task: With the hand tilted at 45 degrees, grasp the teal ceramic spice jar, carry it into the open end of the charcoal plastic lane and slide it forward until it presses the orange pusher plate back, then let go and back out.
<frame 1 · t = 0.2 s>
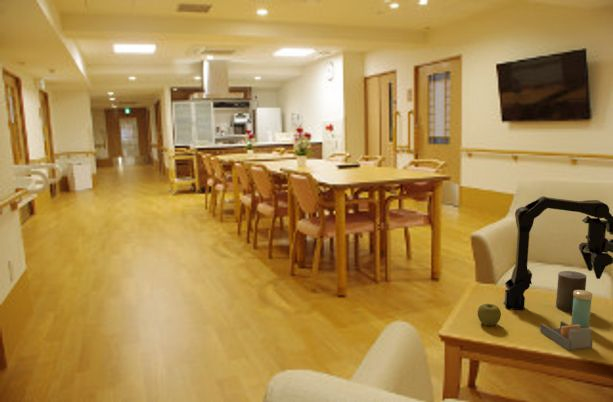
hand: (594, 274, 184), 15 cm above the table, tool pointing down, fingers open, 9 cm apart
lane: (565, 339, 165), on the table
pusher: (570, 332, 162), point 3 cm above the table, slide at 0.0 cm
apple: (488, 324, 178), on the table
pillar candle: (569, 308, 191), on the table
jar: (579, 327, 174), on the table
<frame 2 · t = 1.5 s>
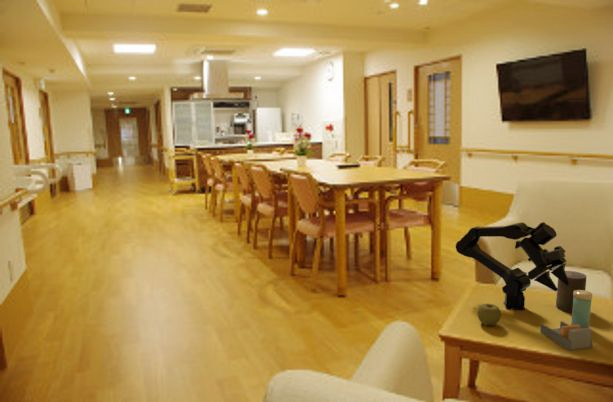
hand: (562, 287, 177), 13 cm above the table, tool tilted 45°, fingers open, 9 cm apart
nothing on the table moved.
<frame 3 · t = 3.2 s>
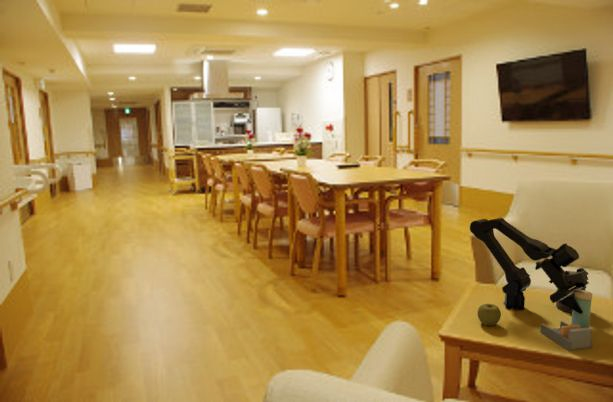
hand: (585, 311, 171), 7 cm above the table, tool tilted 45°, fingers closed on jar, 5 cm apart
jar: (580, 327, 174), on the table, touching gripper
everything else where it was.
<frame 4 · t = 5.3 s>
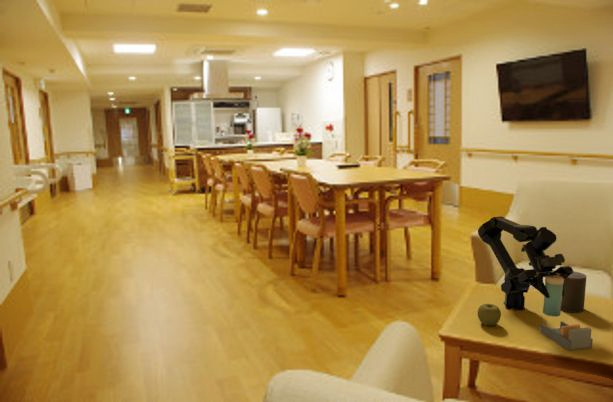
hand: (555, 296, 168), 13 cm above the table, tool tilted 45°, fingers closed on jar, 5 cm apart
jar: (551, 313, 171), point 6 cm above the table, touching gripper
everything else where it was.
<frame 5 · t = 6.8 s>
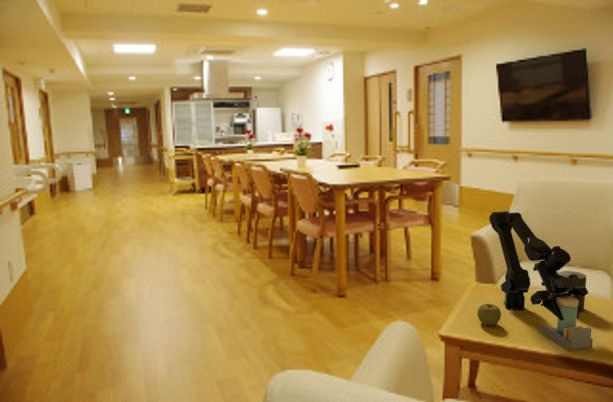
hand: (570, 319, 162), 8 cm above the table, tool tilted 45°, fingers closed on jar, 5 cm apart
pusher: (573, 334, 161), point 3 cm above the table, slide at 1.4 cm
jar: (565, 335, 165), point 1 cm above the table, touching gripper
everything else where it was.
when the fingers open (8 cm above the table, at t = 7.8 s): jar stays where it is, resting on lane.
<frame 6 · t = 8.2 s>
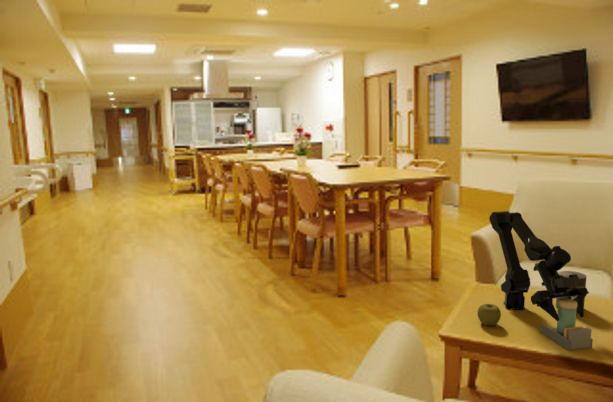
hand: (570, 319, 162), 8 cm above the table, tool tilted 45°, fingers open, 9 cm apart
jar: (565, 337, 165), point 1 cm above the table, touching lane
everything else where it was.
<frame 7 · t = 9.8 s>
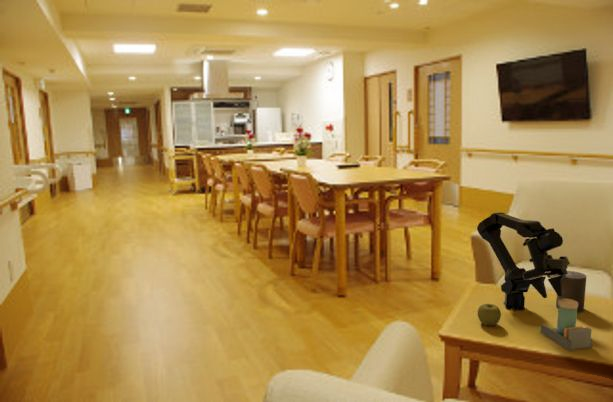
hand: (553, 297, 172), 11 cm above the table, tool tilted 30°, fingers open, 9 cm apart
nothing on the table moved.
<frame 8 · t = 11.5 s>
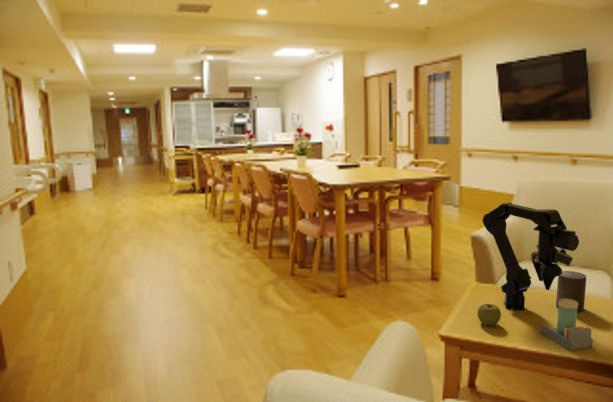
hand: (544, 285, 179), 13 cm above the table, tool pointing down, fingers open, 9 cm apart
nothing on the table moved.
at the end: jar 0.0 cm from the lane (horizontally); jar tilted 0°; pusher slide at 1.5 cm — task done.
